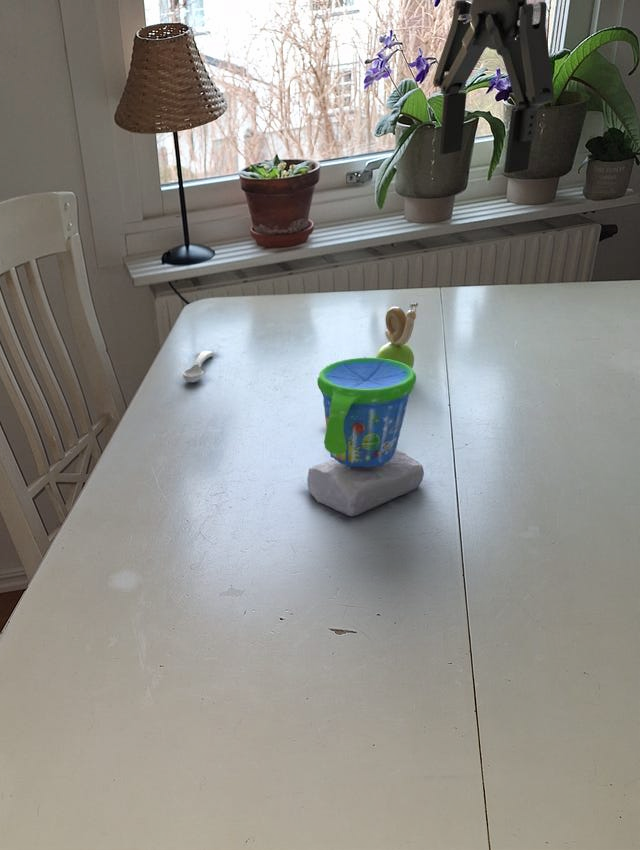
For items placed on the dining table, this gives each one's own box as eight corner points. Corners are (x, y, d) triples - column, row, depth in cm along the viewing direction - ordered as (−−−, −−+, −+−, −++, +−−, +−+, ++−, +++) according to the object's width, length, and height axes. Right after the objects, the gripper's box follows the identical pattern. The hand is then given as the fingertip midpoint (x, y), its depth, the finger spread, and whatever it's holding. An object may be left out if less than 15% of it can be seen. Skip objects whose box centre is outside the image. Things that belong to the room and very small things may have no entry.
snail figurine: (392, 392, 130) (398, 308, 123) (367, 377, 135) (370, 295, 128) (424, 382, 132) (431, 299, 124) (398, 368, 137) (403, 286, 129)
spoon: (180, 385, 139) (180, 372, 138) (199, 359, 148) (198, 347, 147) (199, 385, 138) (199, 372, 137) (217, 359, 148) (216, 347, 147)
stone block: (299, 503, 113) (353, 521, 105) (295, 466, 111) (350, 481, 103) (373, 474, 117) (430, 490, 109) (370, 438, 115) (429, 451, 107)
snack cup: (366, 492, 101) (372, 403, 95) (287, 471, 107) (287, 385, 101) (434, 443, 110) (443, 359, 104) (357, 426, 116) (362, 345, 110)
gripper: (413, -48, 109) (401, 150, 122) (549, -49, 90) (518, 185, 103) (468, -56, 110) (450, 140, 124) (613, -58, 92) (574, 173, 105)
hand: (481, 161), depth 113 cm, fingers open, 13 cm apart
